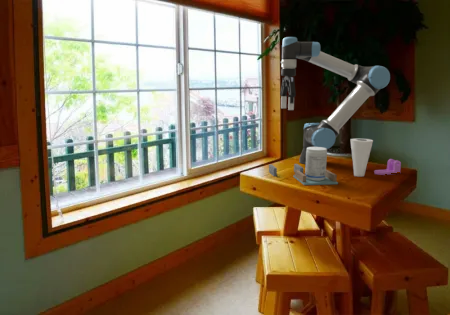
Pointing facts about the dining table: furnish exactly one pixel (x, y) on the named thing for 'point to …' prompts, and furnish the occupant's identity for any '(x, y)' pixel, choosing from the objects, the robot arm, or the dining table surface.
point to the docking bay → (328, 179)
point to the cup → (360, 155)
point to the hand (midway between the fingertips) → (287, 109)
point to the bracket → (390, 167)
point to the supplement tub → (316, 163)
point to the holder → (274, 170)
